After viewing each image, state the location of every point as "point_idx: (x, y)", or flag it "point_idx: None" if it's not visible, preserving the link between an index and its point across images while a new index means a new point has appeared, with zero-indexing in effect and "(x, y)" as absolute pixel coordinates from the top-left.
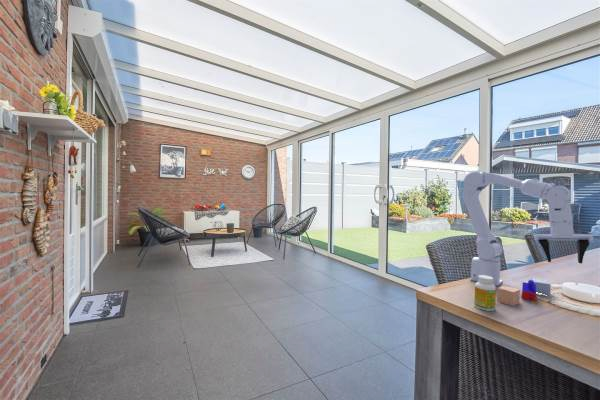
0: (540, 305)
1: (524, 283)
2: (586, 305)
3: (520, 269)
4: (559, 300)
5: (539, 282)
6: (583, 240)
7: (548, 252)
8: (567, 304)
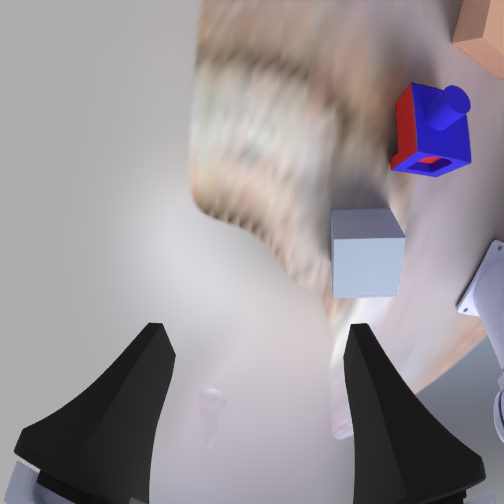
0: (379, 51)
1: (464, 151)
2: (211, 177)
3: (348, 428)
4: (300, 178)
5: (381, 240)
6: (64, 491)
7: (386, 393)
8: (275, 139)
